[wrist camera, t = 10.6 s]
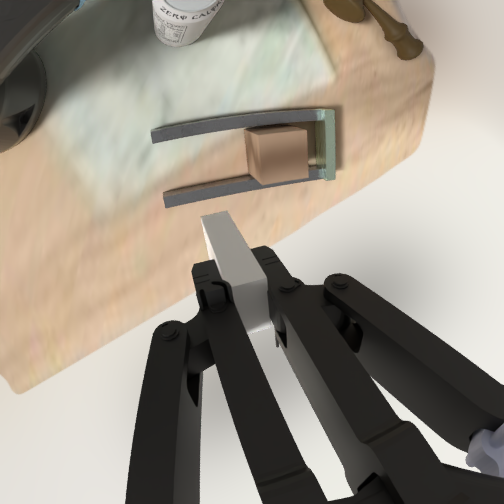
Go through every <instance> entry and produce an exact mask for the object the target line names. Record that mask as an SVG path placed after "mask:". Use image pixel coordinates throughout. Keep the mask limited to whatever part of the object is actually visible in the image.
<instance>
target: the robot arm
mask: <svg viewBox="0 0 504 504" xmlns="http://www.w3.org/2000/svg"><path fill="white" fill-rule="evenodd" d="M85 1H86V0H0V153H2V152H5V151H7V150H9V149H11V148H13V147H14V146H16V145H17V144H19V143H20V142H21V141H22V140H23V139H24V138H25V137H26V136H27V135H28V134H29V132H30V131H31V130H32V128H33V127H34V125H35V123H36V122H37V120H38V118H39V115H40V113H41V110H42V107H43V104H44V100H45V94H46V74H45V69H44V66H43V63H42V61H41V59H40V57H39V56H38V55H37V53H36V52H35V51H34V50H33V48H34V47H35V46H36V45H37V44H38V43H39V42H40V41H41V40H42V39H43V38H44V37H45V36H46V35H47V34H48V33H49V32H50V31H51V30H52V29H53V28H54V27H56V26H57V25H58V24H59V23H60V22H61V21H62V20H63V19H64V18H66V17H67V16H68V15H69V14H70V13H71V12H73V11H77V10H78V9H79V8H81V7H82V5H83V4H84V2H85ZM201 221H202V226H203V231H204V236H205V240H206V245H207V250H208V255H209V259H210V260H208V261H204V262H200V263H196V264H194V266H193V268H192V271H191V272H192V276H193V281H194V285H195V289H196V296H197V299H198V303H199V306H200V308H199V312H198V313H197V315H196V316H195V317H194V318H193V319H191V320H190V321H188V322H187V323H182V322H180V321H174V320H171V321H167V322H164V323H163V324H160V325H159V326H158V327H157V328H156V329H155V331H154V333H153V336H152V341H151V345H150V350H149V354H148V359H147V364H146V369H145V374H144V380H143V384H142V389H141V394H140V400H139V406H138V411H137V417H136V423H135V430H134V436H133V443H132V450H131V457H130V465H129V473H128V481H127V490H126V501H125V504H200V438H201V407H202V385H203V384H202V382H203V371H204V370H205V369H207V368H209V367H211V366H212V365H214V364H216V367H217V370H218V374H219V377H220V381H221V384H222V387H223V390H224V394H225V396H226V400H227V403H228V406H229V409H230V412H231V415H232V418H233V422H234V425H235V427H236V430H237V433H238V436H239V439H240V442H241V445H242V448H243V451H244V454H245V456H246V459H247V462H248V465H249V467H250V470H251V473H252V476H253V478H254V481H255V484H256V487H257V490H258V493H259V495H260V498H261V500H262V503H263V504H504V385H502V384H500V383H499V382H498V381H496V380H495V379H494V378H492V377H491V376H489V375H488V374H487V373H486V372H485V371H483V370H482V369H480V368H479V367H478V366H477V365H475V364H474V363H473V362H471V361H470V360H469V359H467V358H466V357H465V356H463V355H462V354H461V353H459V352H458V351H456V350H455V349H454V348H452V347H451V346H450V345H448V344H447V343H445V342H444V341H443V340H441V339H440V338H439V337H437V336H436V335H434V334H433V333H431V332H430V331H429V330H428V329H426V328H425V327H423V326H422V325H420V324H419V323H418V322H416V321H415V320H413V319H412V318H411V317H409V316H408V315H406V314H405V313H404V312H402V311H401V310H399V309H398V308H396V307H395V306H393V305H392V304H391V303H389V302H388V301H386V300H385V299H383V298H382V297H380V296H379V295H378V294H376V293H375V292H373V291H372V290H370V289H369V288H367V287H366V286H364V285H363V284H361V283H360V282H359V281H357V280H356V279H354V278H353V277H351V276H349V275H346V274H341V273H339V274H332V275H329V276H328V277H327V278H326V279H325V281H324V285H305V284H304V283H303V282H302V281H301V280H300V279H297V278H294V277H292V276H291V275H290V273H289V272H288V270H287V269H286V268H285V266H284V265H283V263H282V262H281V261H280V259H279V258H278V257H277V255H276V254H275V252H274V251H273V250H272V249H270V248H269V247H267V246H261V247H257V248H253V249H250V248H249V247H248V245H247V243H246V241H245V240H244V238H243V236H242V235H241V233H240V231H239V230H238V228H237V226H236V225H235V223H234V221H233V220H232V218H231V216H230V215H229V213H228V211H223V212H219V213H214V214H210V215H206V216H201ZM271 321H272V322H273V324H274V327H275V340H276V347H279V343H280V345H281V347H282V349H283V351H284V353H285V355H286V357H287V359H288V361H289V363H290V365H291V367H292V369H293V371H294V373H295V374H296V377H297V379H298V381H299V383H300V385H301V387H302V388H303V390H304V392H305V394H306V396H307V398H308V400H309V402H310V404H311V406H312V408H313V410H314V412H315V414H316V415H317V417H318V419H319V421H320V423H321V425H322V427H323V429H324V431H325V433H326V434H327V436H328V438H329V440H330V442H331V444H332V446H333V448H334V450H335V452H336V453H337V455H338V457H339V459H340V461H341V463H342V465H343V467H344V470H345V477H346V479H347V482H348V484H349V486H350V488H351V490H352V492H353V494H354V496H351V497H347V498H343V499H338V500H333V501H327V499H326V497H325V495H324V493H323V491H322V489H321V487H320V485H319V483H318V481H317V479H316V477H315V475H314V473H313V472H312V471H311V469H310V468H308V467H307V465H306V464H305V462H304V460H303V458H302V456H301V453H300V451H299V449H298V447H297V445H296V443H295V441H294V439H293V436H292V434H291V432H290V430H289V428H288V426H287V423H286V421H285V419H284V417H283V414H282V412H281V410H280V408H279V406H278V403H277V401H276V399H275V397H274V395H273V392H272V390H271V388H270V385H269V383H268V381H267V379H266V376H265V374H264V372H263V369H262V367H261V365H260V362H259V360H258V358H257V356H256V353H255V351H254V349H253V346H252V344H251V341H250V339H249V337H248V334H251V333H254V332H257V331H261V330H264V329H267V328H271ZM370 376H371V377H372V378H373V379H374V380H376V381H377V382H378V383H379V384H380V385H381V386H382V387H384V388H385V389H386V390H387V391H388V392H389V393H390V394H392V395H393V396H394V397H395V398H396V399H397V400H398V401H399V402H401V403H402V404H403V405H404V406H405V407H406V408H408V409H409V410H410V411H411V412H412V413H413V414H414V415H416V416H417V417H418V418H419V419H420V420H421V421H423V422H424V423H425V424H426V425H427V426H428V427H429V428H431V429H432V430H433V431H434V432H435V433H437V434H438V435H439V436H440V437H441V438H443V439H444V440H445V441H446V442H448V443H449V444H451V445H452V446H454V447H456V448H458V449H460V450H462V451H464V452H467V453H468V455H467V456H466V464H467V465H468V466H469V467H476V468H478V469H479V470H480V471H481V473H478V472H474V471H470V470H466V469H462V468H458V467H455V466H451V465H447V464H444V463H441V462H440V460H439V459H438V457H437V456H436V454H435V453H434V452H433V450H432V448H431V447H430V445H429V444H428V442H427V441H426V439H425V438H424V437H423V435H422V434H421V432H420V431H419V429H418V428H417V427H416V426H415V425H414V424H413V423H411V422H410V421H403V420H401V419H400V418H399V417H398V416H397V415H396V413H395V412H394V410H393V409H392V407H391V406H390V404H389V403H388V402H387V400H386V399H385V397H384V396H383V394H382V393H381V391H380V390H379V389H378V387H377V386H376V384H375V383H374V381H373V380H372V378H371V377H370Z"/></svg>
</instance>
